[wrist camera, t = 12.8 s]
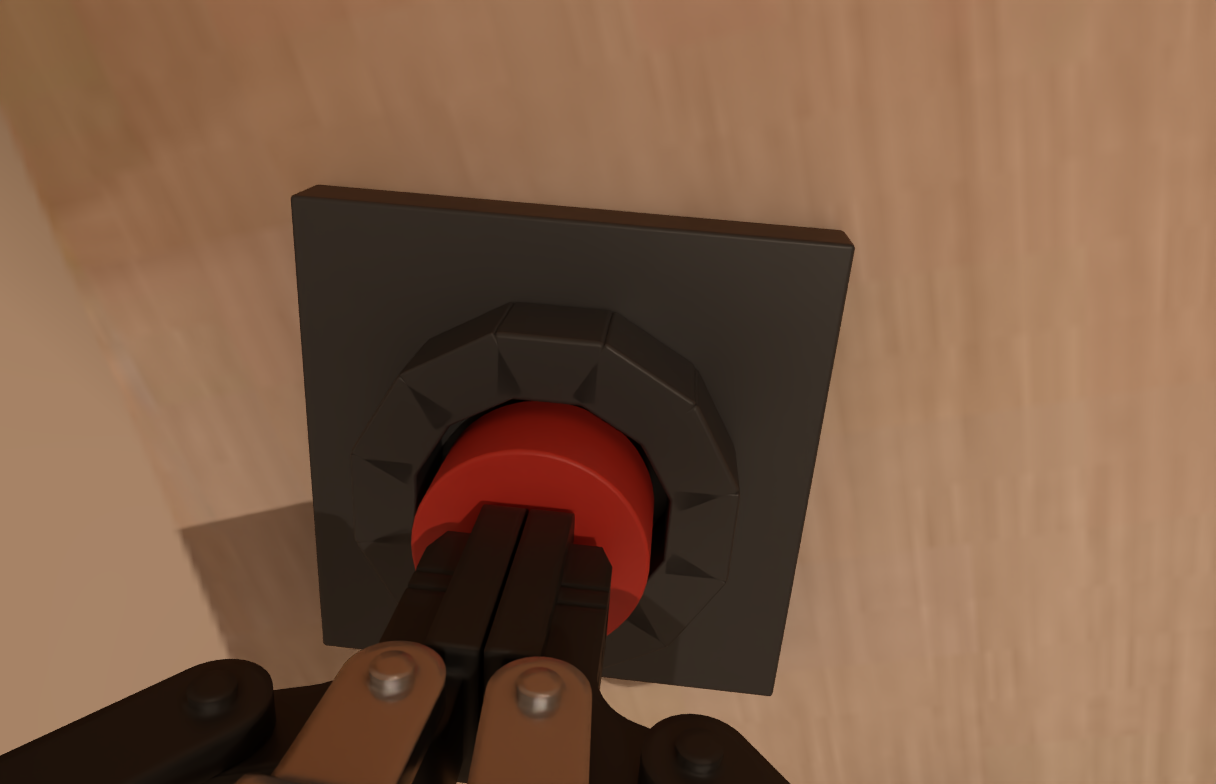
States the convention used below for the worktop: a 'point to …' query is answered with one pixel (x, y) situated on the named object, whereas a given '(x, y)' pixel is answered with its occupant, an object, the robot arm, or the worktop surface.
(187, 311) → the worktop surface
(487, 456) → the button
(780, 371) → the button base
